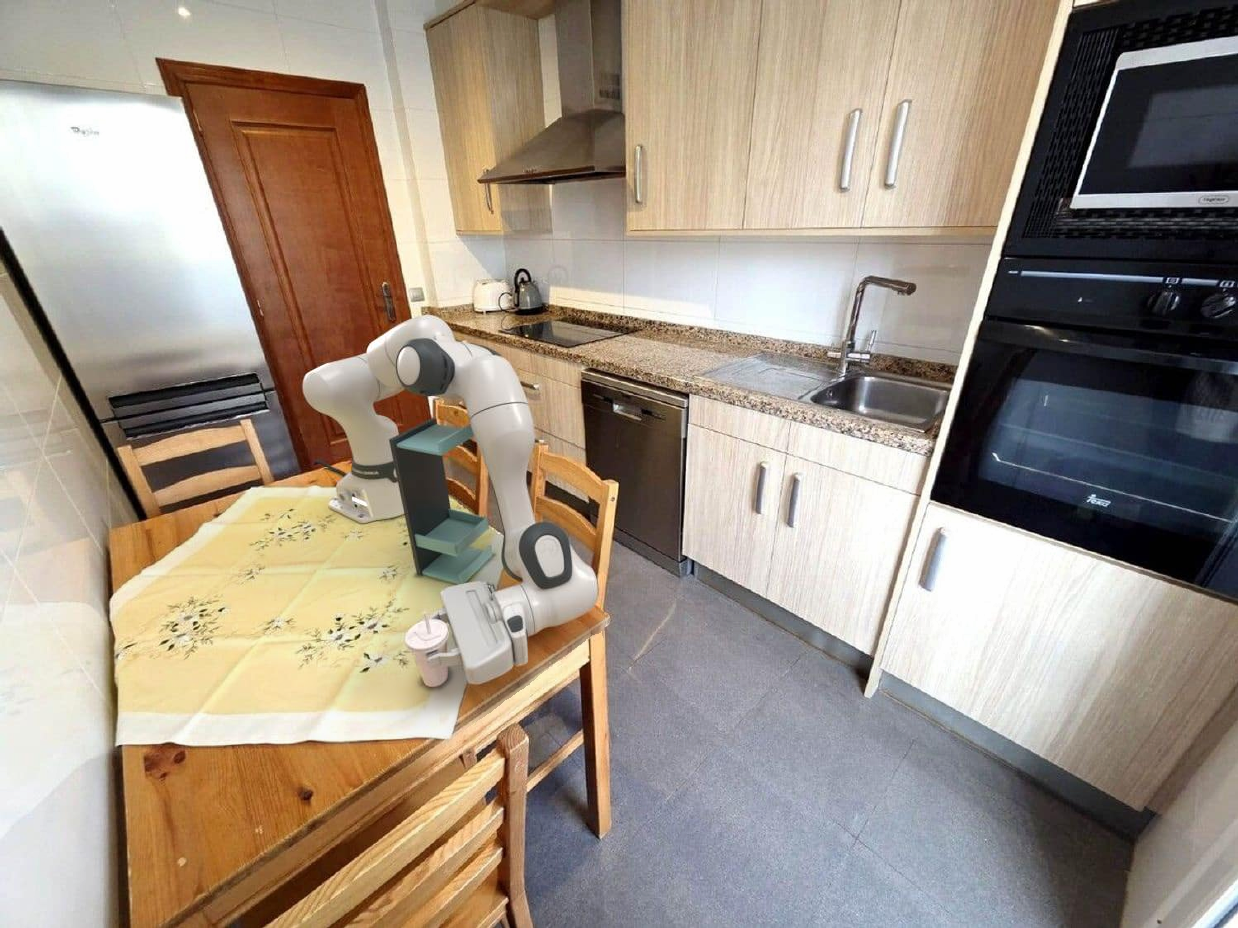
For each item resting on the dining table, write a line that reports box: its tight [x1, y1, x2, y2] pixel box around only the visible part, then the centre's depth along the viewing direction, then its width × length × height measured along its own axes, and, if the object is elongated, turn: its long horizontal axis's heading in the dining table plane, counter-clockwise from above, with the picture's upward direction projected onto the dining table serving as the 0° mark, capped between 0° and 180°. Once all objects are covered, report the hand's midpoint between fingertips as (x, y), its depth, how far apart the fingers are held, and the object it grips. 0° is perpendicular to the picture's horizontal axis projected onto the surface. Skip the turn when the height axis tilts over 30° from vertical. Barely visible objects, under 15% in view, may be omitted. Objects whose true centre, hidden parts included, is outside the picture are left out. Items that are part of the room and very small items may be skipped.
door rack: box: [389, 417, 493, 585], centre depth 102 cm, size 11×12×32 cm
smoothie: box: [404, 610, 450, 688], centre depth 79 cm, size 6×6×14 cm
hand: (422, 644), depth 78 cm, fingers closed on smoothie, 6 cm apart
